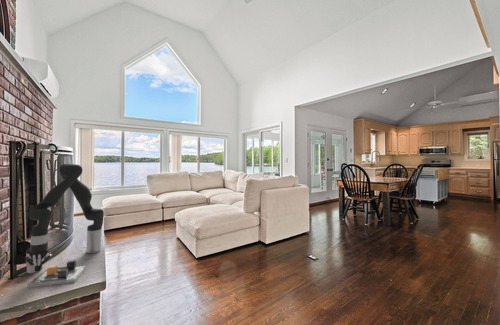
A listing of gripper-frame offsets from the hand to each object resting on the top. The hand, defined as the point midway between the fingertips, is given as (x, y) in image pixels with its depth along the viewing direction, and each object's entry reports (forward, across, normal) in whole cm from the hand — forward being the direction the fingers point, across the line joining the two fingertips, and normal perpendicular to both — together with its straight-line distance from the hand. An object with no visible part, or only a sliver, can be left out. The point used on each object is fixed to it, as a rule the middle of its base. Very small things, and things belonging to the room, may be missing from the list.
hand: (38, 271), depth 127 cm
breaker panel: (+5, -10, 0) cm, 12 cm away
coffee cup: (+5, +8, -13) cm, 16 cm away
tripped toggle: (+3, -7, 0) cm, 7 cm away
